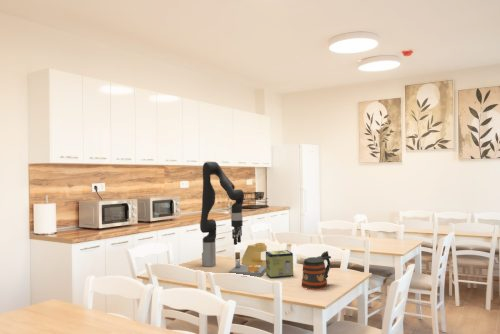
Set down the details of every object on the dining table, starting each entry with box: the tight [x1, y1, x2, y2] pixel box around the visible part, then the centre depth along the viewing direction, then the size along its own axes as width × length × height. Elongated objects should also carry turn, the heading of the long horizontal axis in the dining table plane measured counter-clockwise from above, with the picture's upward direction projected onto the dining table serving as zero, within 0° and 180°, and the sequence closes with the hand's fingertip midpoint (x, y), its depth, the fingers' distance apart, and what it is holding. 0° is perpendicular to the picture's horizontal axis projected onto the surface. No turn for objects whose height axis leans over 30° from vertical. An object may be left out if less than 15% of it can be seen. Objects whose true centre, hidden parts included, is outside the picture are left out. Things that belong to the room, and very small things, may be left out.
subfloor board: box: [228, 264, 266, 278], centre depth 280 cm, size 21×19×3 cm
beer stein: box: [301, 251, 332, 290], centre depth 244 cm, size 19×15×20 cm
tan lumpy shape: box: [241, 242, 268, 266], centre depth 304 cm, size 20×9×16 cm, turn 40°
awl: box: [234, 251, 241, 268], centre depth 284 cm, size 3×3×10 cm
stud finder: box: [248, 265, 259, 272], centre depth 273 cm, size 6×4×3 cm, turn 75°
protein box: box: [265, 249, 294, 279], centre depth 271 cm, size 10×16×16 cm
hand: (237, 243), depth 284 cm, fingers open, 8 cm apart
